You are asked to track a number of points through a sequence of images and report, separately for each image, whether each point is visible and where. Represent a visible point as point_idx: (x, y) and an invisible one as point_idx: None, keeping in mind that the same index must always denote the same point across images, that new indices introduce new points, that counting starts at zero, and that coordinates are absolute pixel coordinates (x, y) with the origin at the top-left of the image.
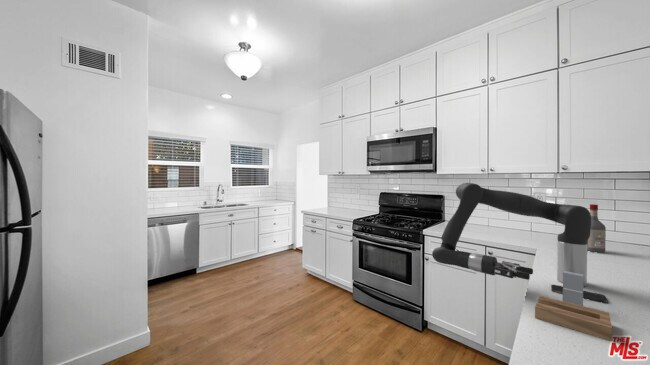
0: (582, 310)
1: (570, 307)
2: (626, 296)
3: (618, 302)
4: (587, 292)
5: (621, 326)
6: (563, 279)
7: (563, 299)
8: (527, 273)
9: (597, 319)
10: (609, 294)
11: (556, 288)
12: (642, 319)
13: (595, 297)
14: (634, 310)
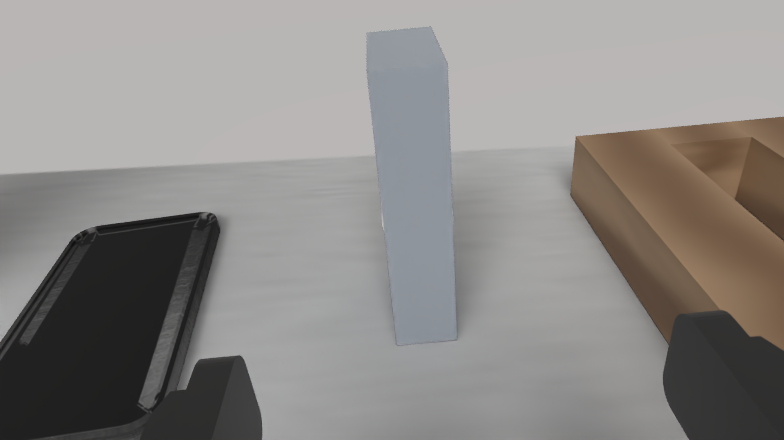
0: (706, 180)
1: (744, 209)
2: (18, 200)
3: (156, 205)
4: (65, 276)
5: (540, 176)
6: (447, 139)
7: (454, 306)
8: (716, 322)
9: (770, 140)
10: (16, 233)
11: (61, 412)
12: (356, 158)
13: (163, 245)
14: (247, 175)
